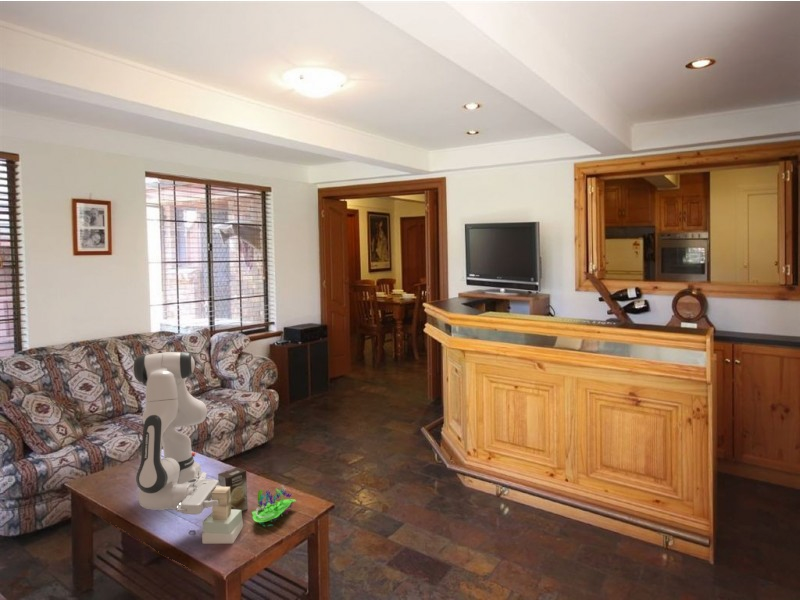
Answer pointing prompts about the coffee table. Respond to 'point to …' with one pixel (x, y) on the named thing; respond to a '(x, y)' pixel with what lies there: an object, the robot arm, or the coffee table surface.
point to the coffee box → (235, 487)
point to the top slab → (222, 523)
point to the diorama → (271, 506)
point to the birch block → (221, 503)
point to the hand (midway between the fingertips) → (223, 496)
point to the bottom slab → (222, 536)
